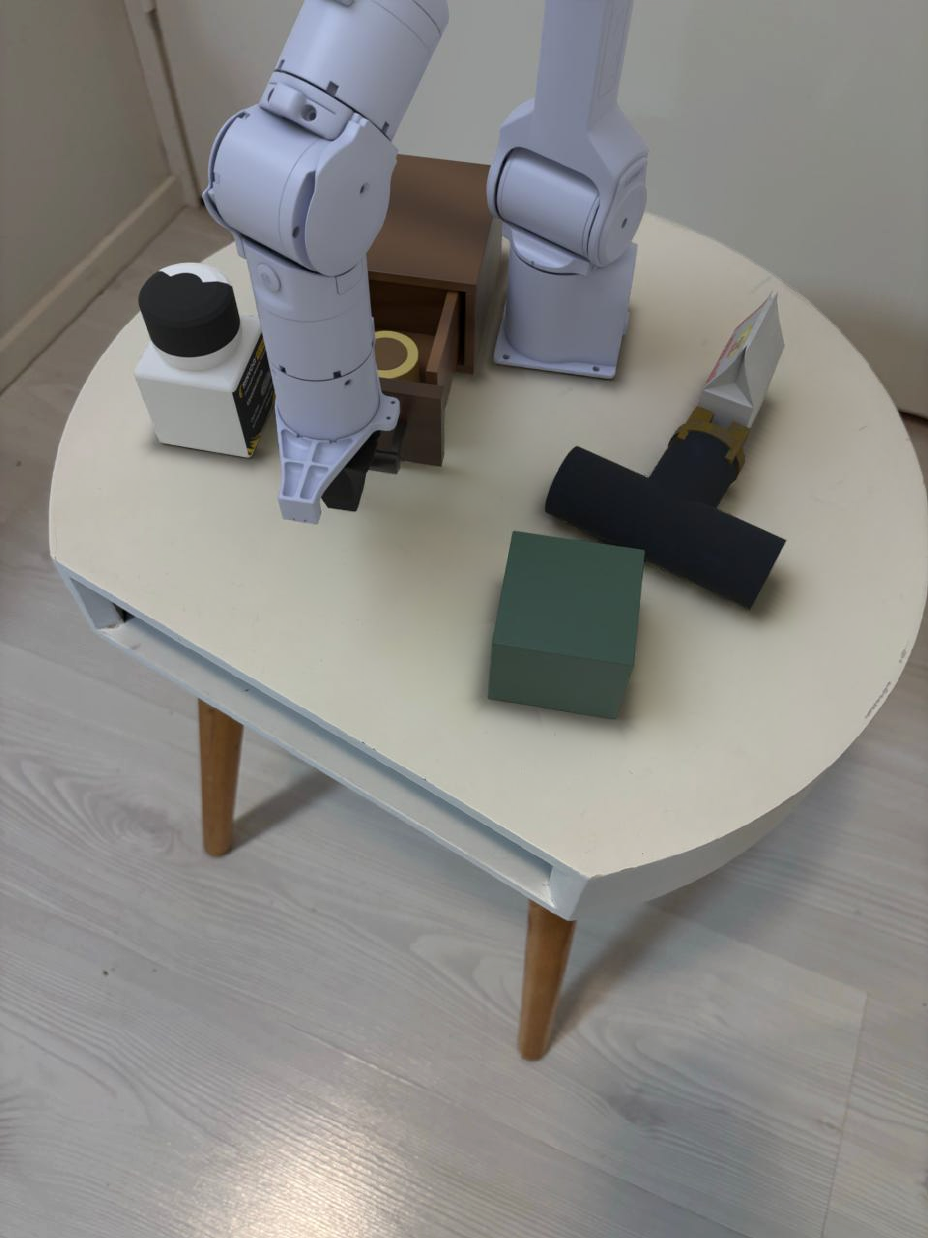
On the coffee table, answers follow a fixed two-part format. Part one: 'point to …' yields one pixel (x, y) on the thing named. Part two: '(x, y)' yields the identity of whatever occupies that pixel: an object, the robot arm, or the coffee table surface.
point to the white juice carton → (745, 368)
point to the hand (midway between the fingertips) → (343, 501)
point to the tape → (396, 356)
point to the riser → (566, 624)
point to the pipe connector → (673, 509)
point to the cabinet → (442, 239)
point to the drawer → (438, 339)
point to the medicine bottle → (202, 362)
